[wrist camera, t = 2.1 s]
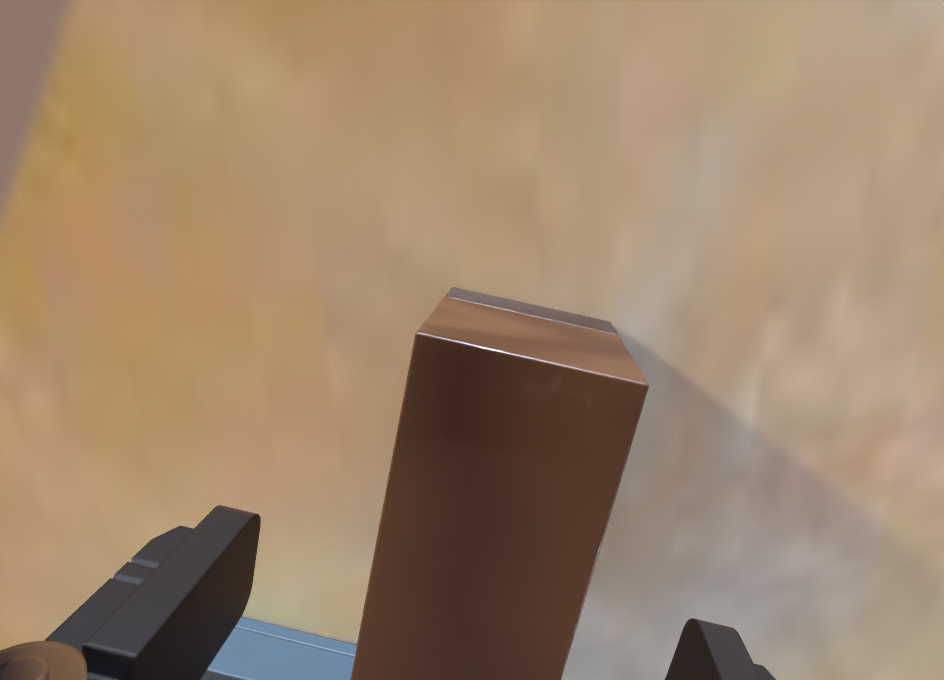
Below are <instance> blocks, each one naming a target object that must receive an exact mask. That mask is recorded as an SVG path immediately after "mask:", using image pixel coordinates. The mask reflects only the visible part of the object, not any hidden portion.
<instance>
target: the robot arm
mask: <svg viewBox="0 0 944 680" xmlns="http://www.w3.org/2000/svg"><path fill="white" fill-rule="evenodd" d="M260 521H261V520H260V516H259V514H255V513H251V512H247V511H242V510H238V509H234V508H230V507H226V506H221V505H219V506H217V507H215V508H214V509H213V510H212V511H211V512H210V513H209V514H208V515H207V516H206V517H205V518H204V519H203V520H202V521H201V522H200V523H199V524H198V525H197V526H196V527H195V528H194V529H192V528H188V527H184V526H179V527H177V528H174V529H172V530H170V531H168V532H166V533H164V534H162V535H160V536H158V537H156V538H154V539H152V540H151V541H150V542H149V543H147V544H146V545H145V546H144V547H143V548H142V549H141V550H140V551H139V552H138V553H137V554H136V555H135V556H134V557H133V558H132V560H131V562H127V563H126V564H125V565H124V566H123V567H122V568H121V569H120V570H119V571H118V572H117V573H116V574H115V576H114V578H113V579H111V578H110V579H109V580H108V581H107V582H106V583H105V584H104V585H103V586H102V587H101V588H100V589H99V590H97V591H96V592H95V593H94V594H93V595H92V596H91V597H90V598H89V599H88V600H87V601H86V602H85V603H84V604H83V605H82V606H80V607H79V608H78V609H77V610H76V611H75V612H74V613H73V614H72V615H71V616H70V617H69V618H68V619H67V620H66V621H65V622H63V623H62V624H61V625H60V626H59V627H58V628H57V629H56V630H55V631H54V632H53V633H52V634H51V635H50V636H49V637H47V638H46V639H45V640H44V641H35V642H29V643H23V644H19V645H16V646H12V647H9V648H7V649H4V650H1V651H0V680H200V679H201V678H202V676H203V675H204V673H205V672H206V670H207V669H208V667H209V666H210V664H211V663H212V661H213V660H214V658H215V657H216V655H217V654H218V652H219V651H220V649H221V648H222V646H223V645H224V643H225V641H226V640H227V638H228V637H229V635H230V634H231V632H232V631H233V629H234V628H235V626H236V625H237V623H238V622H239V620H240V618H241V616H242V614H243V612H244V610H245V607H246V605H247V602H248V599H249V596H250V593H251V588H252V583H253V576H254V568H255V561H256V554H257V546H258V539H259V532H260ZM665 680H776V679H775V678H774V677H773V676H772V675H771V674H770V673H769V672H768V671H767V669H766V668H765V667H764V666H762V665H757V664H753V662H752V660H751V658H750V656H749V654H748V652H747V650H746V647H745V645H744V643H743V641H742V639H741V637H740V635H739V634H738V632H737V631H736V630H735V629H734V628H731V627H727V626H723V625H719V624H714V623H710V622H706V621H702V620H697V619H693V618H692V619H689V620H688V621H687V622H686V624H685V626H684V628H683V631H682V634H681V637H680V639H679V642H678V645H677V648H676V651H675V653H674V656H673V659H672V662H671V665H670V667H669V670H668V673H667V676H666V678H665Z"/></svg>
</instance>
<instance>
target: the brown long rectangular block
mask: <svg viewBox="0 0 944 680" xmlns="http://www.w3.org/2000/svg"><path fill="white" fill-rule="evenodd" d="M648 387H649V385H648V383H647V381H646V379H645V378H644V376H643V374H642V373H641V371H640V370H639V368H638V366H637V365H636V363H635V361H634V360H633V358H632V357H631V355H630V353H629V352H628V350H627V348H626V347H625V345H624V344H623V342H622V340H621V339H620V337H619V336H618V334H617V332H616V330H615V329H614V327H613V326H612V324H611V323H610V322H608V321H603V320H599V319H594V318H590V317H585V316H581V315H576V314H572V313H567V312H563V311H558V310H554V309H549V308H545V307H540V306H536V305H531V304H527V303H522V302H518V301H513V300H509V299H504V298H500V297H495V296H491V295H486V294H482V293H477V292H473V291H468V290H464V289H459V288H454V287H453V288H451V290H450V291H449V292H448V293H447V295H446V296H445V297H444V298H443V300H442V301H441V302H440V304H439V305H438V306H437V307H436V309H435V310H434V311H433V312H432V314H431V315H430V316H429V317H428V319H427V320H426V321H425V322H424V324H423V325H422V326H421V327H420V329H419V330H418V331H417V333H416V334H415V339H414V345H413V350H412V355H411V361H410V366H409V371H408V376H407V382H406V387H405V392H404V398H403V403H402V408H401V414H400V419H399V424H398V430H397V435H396V440H395V446H394V451H393V456H392V462H391V467H390V472H389V478H388V483H387V488H386V494H385V499H384V504H383V509H382V515H381V520H380V525H379V531H378V536H377V541H376V547H375V552H374V557H373V563H372V568H371V573H370V579H369V584H368V589H367V595H366V600H365V605H364V611H363V616H362V621H361V626H360V632H359V637H358V642H357V648H356V653H355V658H354V664H353V669H352V674H351V680H561V677H562V674H563V671H564V667H565V664H566V661H567V657H568V654H569V651H570V647H571V644H572V641H573V637H574V634H575V631H576V627H577V624H578V621H579V617H580V614H581V611H582V607H583V604H584V601H585V597H586V594H587V591H588V587H589V584H590V581H591V577H592V574H593V571H594V567H595V564H596V561H597V557H598V554H599V551H600V547H601V544H602V541H603V537H604V534H605V531H606V527H607V524H608V521H609V517H610V514H611V511H612V507H613V504H614V501H615V497H616V494H617V491H618V487H619V484H620V481H621V477H622V474H623V471H624V467H625V464H626V461H627V457H628V454H629V451H630V447H631V444H632V441H633V437H634V434H635V431H636V427H637V424H638V421H639V417H640V414H641V411H642V407H643V404H644V401H645V397H646V394H647V391H648Z"/></svg>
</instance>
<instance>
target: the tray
mask: <svg viewBox="0 0 944 680" xmlns="http://www.w3.org/2000/svg"><path fill="white" fill-rule="evenodd" d="M356 648H357V645H353V644H349V643H345V642H341V641H337V640H333V639H329V638H325V637H321V636H317V635H313V634H309V633H305V632H301V631H297V630H293V629H288V628H284V627H280V626H276V625H272V624H268V623H264V622H260V621H256V620H252V619H248V618H244V617H241V618H240V620H239V622H238V623H237V625H236V626H235V628H234V629H233V631H232V632H231V634H230V635H229V637H228V638H227V640H226V641H225V643H224V645H223V646H222V648H221V649H220V651H219V652H218V654H217V655H216V657H215V658H214V660H213V661H212V663H211V664H210V666H209V667H208V669H207V670H206V672H205V673H204V675H203V676H202V678H201V679H200V680H351V674H352V669H353V664H354V658H355V653H356Z"/></svg>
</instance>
